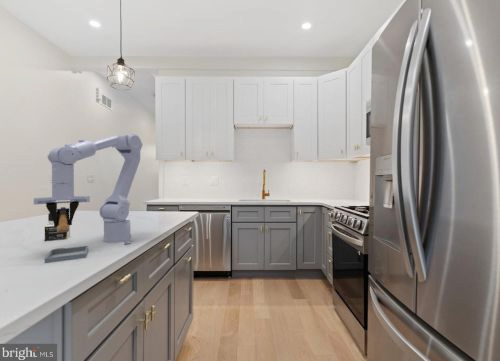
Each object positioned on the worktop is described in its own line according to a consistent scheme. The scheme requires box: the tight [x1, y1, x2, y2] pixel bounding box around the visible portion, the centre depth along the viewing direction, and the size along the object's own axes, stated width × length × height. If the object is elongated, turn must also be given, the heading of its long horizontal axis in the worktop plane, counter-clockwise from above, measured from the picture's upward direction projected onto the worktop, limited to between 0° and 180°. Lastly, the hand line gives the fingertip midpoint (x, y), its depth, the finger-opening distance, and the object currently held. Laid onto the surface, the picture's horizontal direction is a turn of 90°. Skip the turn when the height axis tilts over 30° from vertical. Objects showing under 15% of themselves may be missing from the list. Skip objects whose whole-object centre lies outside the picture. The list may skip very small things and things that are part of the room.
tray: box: [44, 245, 89, 264], centre depth 79 cm, size 10×10×2 cm
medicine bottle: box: [44, 212, 71, 242], centre depth 101 cm, size 7×7×12 cm
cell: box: [57, 206, 70, 233], centre depth 82 cm, size 3×3×8 cm
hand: (63, 225), depth 82 cm, fingers closed on cell, 3 cm apart
